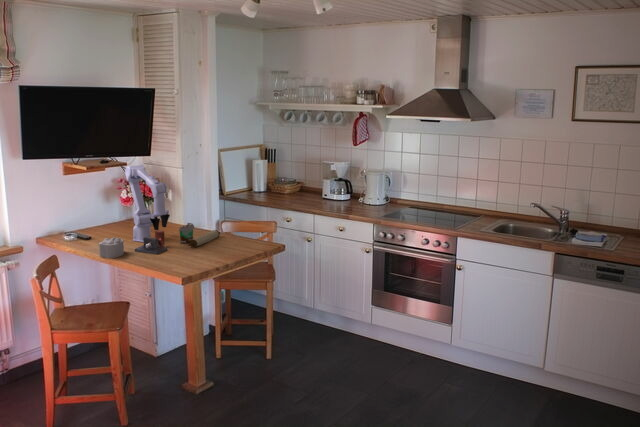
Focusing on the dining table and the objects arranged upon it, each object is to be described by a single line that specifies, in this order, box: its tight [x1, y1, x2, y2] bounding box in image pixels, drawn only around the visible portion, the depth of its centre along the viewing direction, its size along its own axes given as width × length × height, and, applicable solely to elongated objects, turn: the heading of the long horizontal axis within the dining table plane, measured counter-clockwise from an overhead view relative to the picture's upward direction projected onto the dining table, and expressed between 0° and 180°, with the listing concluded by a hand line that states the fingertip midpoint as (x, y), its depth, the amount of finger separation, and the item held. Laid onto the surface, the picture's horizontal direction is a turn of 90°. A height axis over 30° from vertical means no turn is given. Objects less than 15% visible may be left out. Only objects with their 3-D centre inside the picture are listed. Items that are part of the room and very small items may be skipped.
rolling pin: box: [188, 229, 221, 249], centre depth 348 cm, size 32×6×5 cm, turn 158°
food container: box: [178, 222, 195, 245], centre depth 348 cm, size 12×6×10 cm, turn 168°
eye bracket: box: [134, 237, 168, 255], centre depth 329 cm, size 10×14×7 cm
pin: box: [146, 229, 166, 248], centre depth 331 cm, size 14×4×8 cm, turn 160°
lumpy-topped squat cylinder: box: [98, 237, 125, 259], centre depth 320 cm, size 10×13×9 cm
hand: (160, 228), depth 336 cm, fingers open, 7 cm apart
